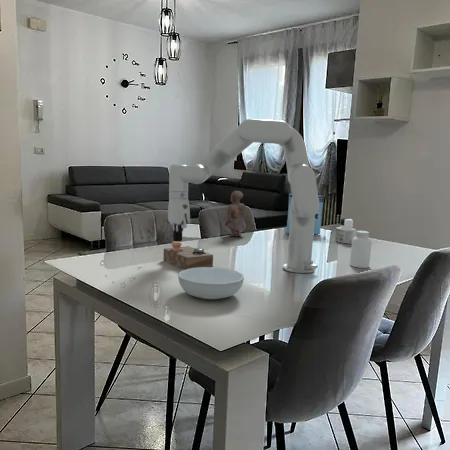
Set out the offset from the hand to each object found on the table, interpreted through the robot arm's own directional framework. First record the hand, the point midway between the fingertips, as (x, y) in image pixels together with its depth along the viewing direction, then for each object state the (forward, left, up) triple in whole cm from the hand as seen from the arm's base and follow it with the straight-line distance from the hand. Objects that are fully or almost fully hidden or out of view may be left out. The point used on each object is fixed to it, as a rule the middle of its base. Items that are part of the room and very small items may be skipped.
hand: (177, 240), depth 187 cm
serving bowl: (-42, +13, -9) cm, 45 cm away
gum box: (+28, -105, -9) cm, 109 cm away
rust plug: (0, 0, -6) cm, 6 cm away
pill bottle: (-40, -67, -9) cm, 78 cm away
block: (-4, -3, -9) cm, 10 cm away
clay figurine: (+37, -61, -9) cm, 72 cm away
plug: (-8, -5, -8) cm, 12 cm away
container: (-1, -107, -9) cm, 107 cm away
